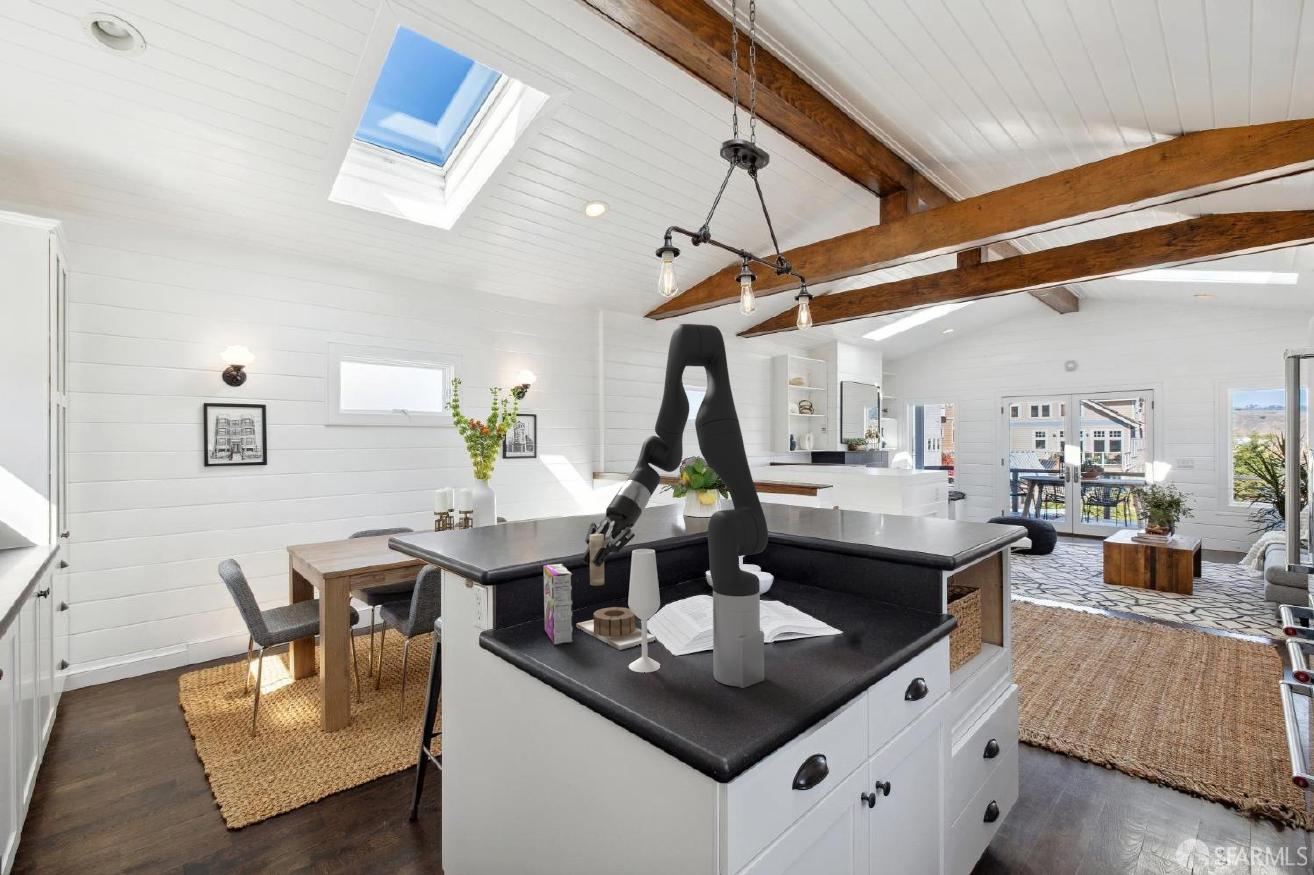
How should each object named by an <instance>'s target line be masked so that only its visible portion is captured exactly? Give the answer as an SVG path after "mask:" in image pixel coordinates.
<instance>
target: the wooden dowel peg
mask: <svg viewBox="0 0 1314 875" xmlns="http://www.w3.org/2000/svg"><path fill="white" fill-rule="evenodd" d="M603 543H604V534H591V535H590V563H589V585H591V586H604V585H605V561H604V562H603V563H602V564H601V566H600V567H597V566H595V564H594V563H593V562H592V561H593V559H594V557H595V556H596V554H597V553H598V551H599V549H600V548H603V547H602V545H603Z"/></svg>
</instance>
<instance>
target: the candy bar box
mask: <svg viewBox="0 0 1314 875" xmlns="http://www.w3.org/2000/svg"><path fill="white" fill-rule="evenodd" d="M572 583H573V574H572V572H570V570H569V569H567V567H566V566H565V565H564V564H563V563H556V564H555V563H554V564H545V565H543V596H544V597H543V599H544V600H543V601H544V602H543V605H544V606H543V607H544V608H543V609H544V632H545V633H546V635H547V636H548V638H549V639H550V640H551V643H552V644H553V645H562V643H564V644H568V643H570V644H571V643H573V642H574V637H573V636H574V635H573V634H574V631H573V630H574V624H573V621H574V620H573V585H572Z"/></svg>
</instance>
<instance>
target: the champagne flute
mask: <svg viewBox="0 0 1314 875" xmlns="http://www.w3.org/2000/svg"><path fill="white" fill-rule="evenodd" d="M630 564H631V565H630V575H629V586H628V587H629V588H628V589H629V590H628V599H627V600H628V601H627V605H628V607H629V608H628V609H630V610H631V611H632V612H633V613H634V614H635V617H637V618H638V619H639V620H641V630H642V644H641V656H640V657H639V658H638V659H635V661H632V662H631V663H629V665H628V669H629V670H631V671H633V672H637V673H644V672H645V673H652V672H655V671H658V670H659V669H661V667H660V665H661V664H660V663H659V662H658V661H656V660H654V659H652V658H651V657H649V656H648V643H647V633H648V620H649V619H651V618H652V617H653V616H654V615H655V614H656V613H657V611H658V610H659V608H660V607H661V599H660V597H661V596H660V588H659V578H658V568H657V557H656V551H655V549H650V548H638V549H634V550H632V552H631V562H630Z"/></svg>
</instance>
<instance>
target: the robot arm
mask: <svg viewBox="0 0 1314 875" xmlns="http://www.w3.org/2000/svg"><path fill="white" fill-rule="evenodd" d="M687 367H702V368H703V367H704V370H705V374H706V385H707V386H706V391H705V393H704V396H703V399H702V401H701V404H700V406H699V408H698V411H697V414H696V416H695V420H694V425H695V432H696V437H697V441H698V447H699V452H700V453H701V455H702V457H703V459H704V461H705V462H706V463H707V464H708V466H709V467H710V468H711V470H713V472H714V473H715V474H716V475H717V476H718V477H719V479H720V480H721V481H722V483H723V484H724V486H725V487H726V489H727V491H728V493H729V495H730V498H731V500H732V505H733V507H734V508H733V509H723V510H722V509H721V510H717V511H715V512H713V514H712V515H711V517H710V518H709V521H708V525H707V527H708V528H707V542H708V543H707V546H708V556H709V557H708V559H709V573H710V578H711V582H712V634H713V635H712V643H713V644H712V650H713V651H712V652H713V654H712V655H713V656H712V658H713V659H712V660H713V668H712V669H713V679H715V680H716V681H717V682H718V683H721V684H722V685H727V686H731V687H738V688H741V689H744V688H747V687H750V686H752V685H756V684H758V683H760V682H764V681H765V633H764V631H763V630H761V618H760V617H761V613H760V612H761V611H760V610H761V609H760V608H761V607H760V606H761V600H760V598H761V594H760V593H761V592H760V591H761V590H760V588H761V587H760V586H761V585H760V583H761V582H760V579H759V576H758V575H757V574H754V573H752V572H749V571H746V570H742V569H741V568H740V563H739V557H743V556H751V555H757V554H761V553H762V552H763V551H764V550H766V548H767V546H768V542H769V531H768V530H769V529H768V525H767V521H766V516H765V513H764V509H763V506H762V504H761V500H760V499H759V496H758V492H757V490H756V487H755V483H754V480H753V477H752V472H751V468H750V466H749V461H748V458H747V454H746V448H745V444H744V443H745V442H744V439H743V434H742V429H741V425H740V421H739V417H738V414H737V409H736V406H735V405H736V404H735V402H734V398H733V392H732V387H731V382H730V376H729V375H730V374H729V367H728V360H727V352H726V345H725V340H724V336H723V334H722V332H721V330H720V329H719V328H718V327H717V326H715V325H712V324H695V323H682V324H681V323H680V324H679V325H677V326H676V327H675V328H674V330H673V332H672V335H671V337H670V341H669V346H668V354H667V361H666V368H665V378H664V387H663V395H662V401H661V404H660V408H659V412H658V414H657V418H656V422H655V425H654V432H655V434H656V435H652V436H649V437H647V438H646V439H645V440H644V441H643V443H642V447H641V450H640V453H639V456H638V460H637V463H636V465H635V467H634V469H633V471H632V472H631V474H630V475H629V477H628V478H627V480H626V481H625V482H624V483H623V484H622V486H621V487H620V488H619V490H618V491H617V493H616V494H615V495H614V496H613V498H612V500H611V502H610V503H609V505H608V506H607V508H606V510H605V517H604V518H603V519H602V520H601V521H600V523H595V522H594V521H593V522H591V523H590V524H589V527H588V531H587V533H586V537H585V541H584V542H585V543H586V544H587V545H588V547H587V548H586V550H585V552H584V553H583V554H582V556H581V561H582V562H583V563H584V565H590V535H591V534H604V543H603V545H602V547H603V548H600V549H599V551H598V553H597V554H596V556H595V557H594V559H593V561H592V562H593V563H594V564H595V566H597V567H600V566H601V564H602V563H603V562H604V563H605V561H606V559H607V557H608V556H609V555H610V554H612V553H614V554H615V553H616V554H617V553H619V552H620V551H621V550H622V549H623V548H624V547H625V546H626V545H627V544H629V542H630V541H632V540H633V538H635V536H636V534H635V533H634V531H633V530H632V528H633V527H634V526H635V525H636V523H637V521H638V520H639V519H640V516H641V515H642V513H643V512H644V510H645V509H646V507H647V505H648V503H649V501H650V499H651V498H652V495H653V494H654V492H655V491H656V489H657V488H658V486H659V484H660V482H661V477H660V474H659V473H658V471H656V469H654V467H655V468H658V469H660V470H663V471H664V472H667V473H673V472H674V471H676V470H677V469H678V468H679V467H680V465H681V463H682V459H683V452H684V451H683V449H684V448H683V438H684V431H685V428H686V425H687V423H688V419H689V414H690V402H689V398H688V395H687V393H686V390H685V387H684V384H683V383H684V382H683V376H684V371H685V369H686V368H687ZM651 465H652V466H654V467H652V466H651ZM619 542H620V543H619Z"/></svg>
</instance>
